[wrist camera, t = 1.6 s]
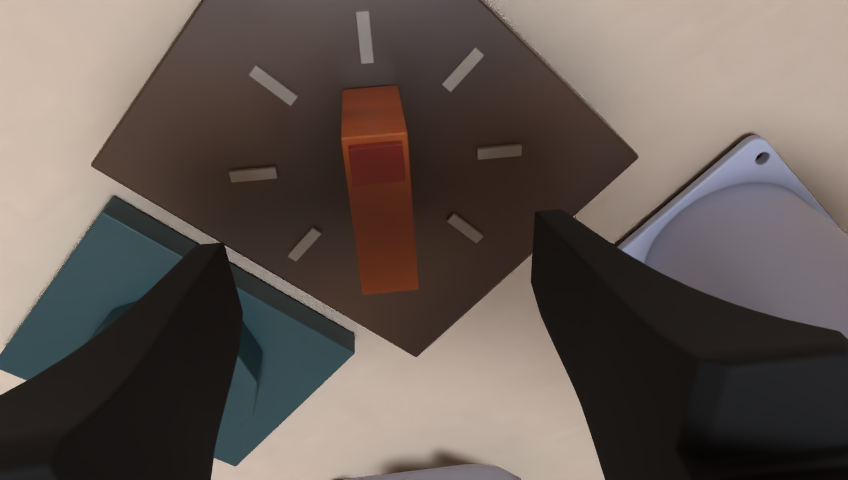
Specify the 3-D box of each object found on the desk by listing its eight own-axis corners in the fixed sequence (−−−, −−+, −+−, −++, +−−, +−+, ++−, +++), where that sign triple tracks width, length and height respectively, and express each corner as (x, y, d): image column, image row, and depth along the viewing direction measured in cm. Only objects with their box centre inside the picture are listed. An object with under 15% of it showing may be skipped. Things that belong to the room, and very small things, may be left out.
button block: (355, 334, 26) (355, 385, 24) (239, 446, 29) (229, 501, 27) (113, 194, 22) (82, 240, 19) (6, 345, 25) (-33, 401, 22)
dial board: (607, 122, 22) (642, 159, 19) (410, 309, 26) (416, 361, 23) (318, -165, 17) (313, -167, 14) (121, 127, 20) (86, 169, 18)
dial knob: (408, 225, 20) (419, 295, 17) (360, 230, 20) (362, 301, 17) (397, 84, 17) (407, 135, 14) (342, 88, 17) (340, 142, 14)
